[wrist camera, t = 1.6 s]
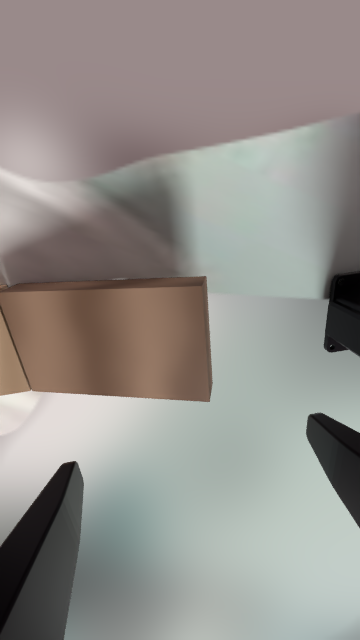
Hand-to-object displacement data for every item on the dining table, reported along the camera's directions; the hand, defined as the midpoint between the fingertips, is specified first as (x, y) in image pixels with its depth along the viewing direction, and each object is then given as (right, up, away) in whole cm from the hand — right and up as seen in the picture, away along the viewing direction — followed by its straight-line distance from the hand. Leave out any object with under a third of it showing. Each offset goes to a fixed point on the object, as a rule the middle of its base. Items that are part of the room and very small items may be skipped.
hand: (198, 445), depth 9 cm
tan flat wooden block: (-5, +3, +9) cm, 10 cm away
